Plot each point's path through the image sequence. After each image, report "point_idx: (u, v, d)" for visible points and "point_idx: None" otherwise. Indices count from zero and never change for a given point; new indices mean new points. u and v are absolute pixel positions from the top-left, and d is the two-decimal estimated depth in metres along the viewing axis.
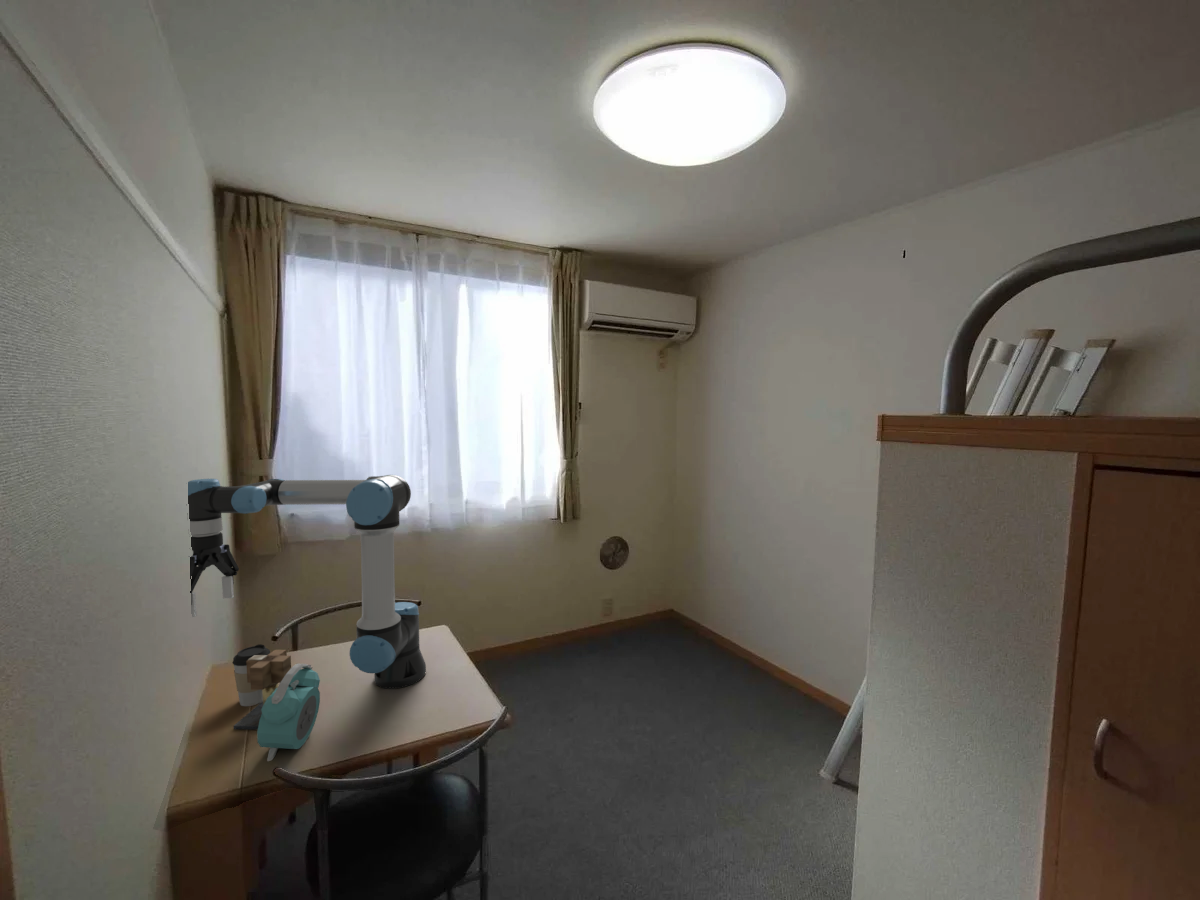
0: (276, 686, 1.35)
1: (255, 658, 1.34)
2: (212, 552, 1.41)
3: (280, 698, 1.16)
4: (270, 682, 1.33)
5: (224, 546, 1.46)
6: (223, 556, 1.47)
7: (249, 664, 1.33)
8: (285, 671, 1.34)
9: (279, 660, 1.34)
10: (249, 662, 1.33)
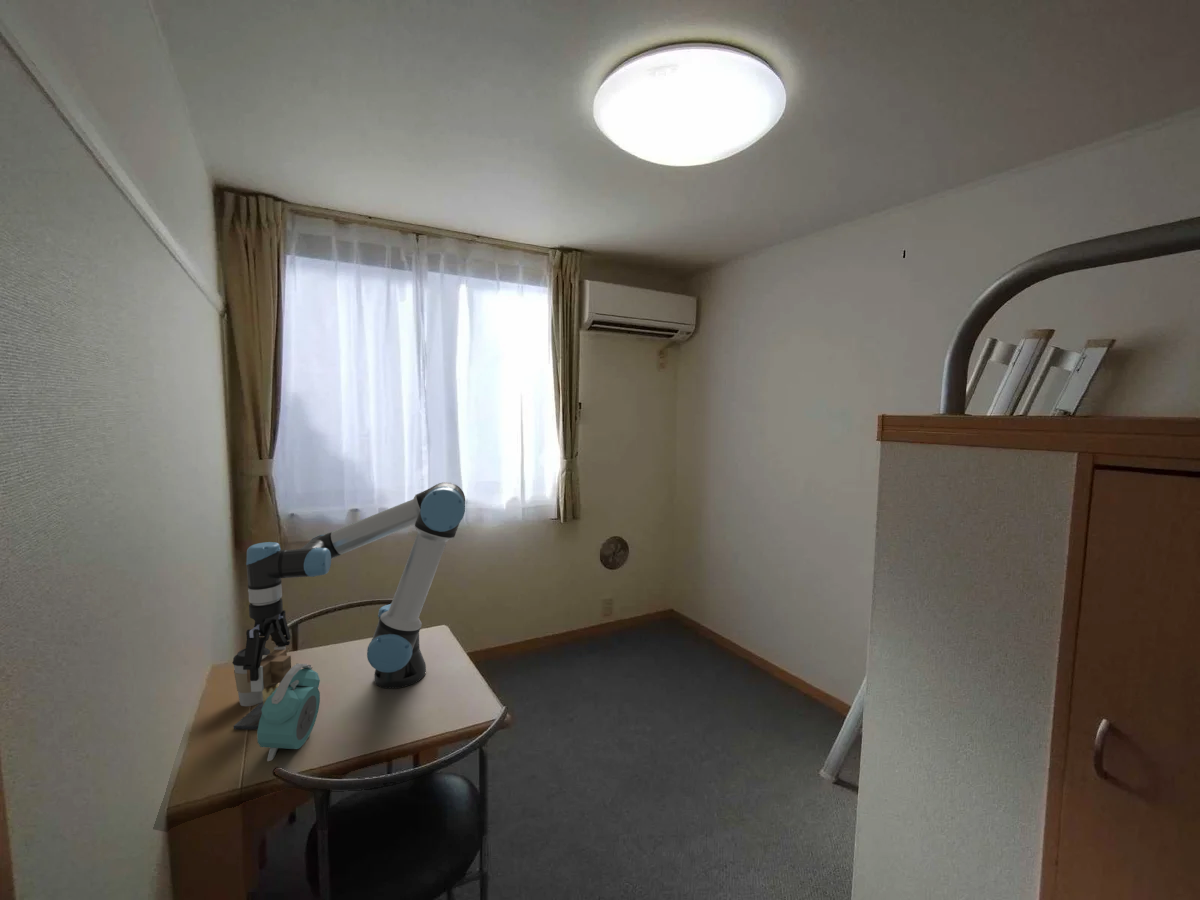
0: (276, 686, 1.35)
1: None
2: (272, 618, 1.35)
3: (280, 698, 1.16)
4: (270, 682, 1.33)
5: (281, 612, 1.40)
6: None
7: None
8: (285, 671, 1.34)
9: (279, 660, 1.34)
10: None
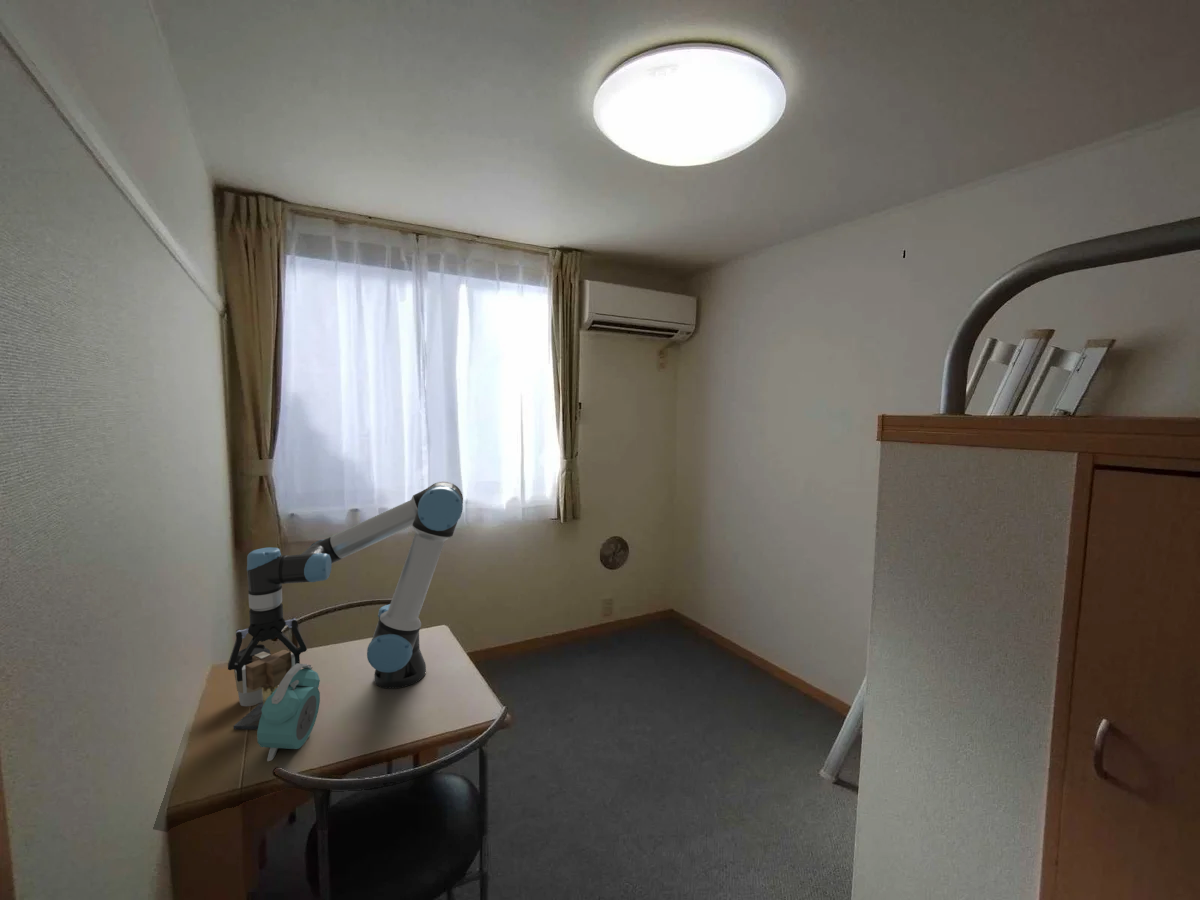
0: (276, 686, 1.35)
1: (260, 655, 1.36)
2: (270, 625, 1.34)
3: (280, 698, 1.16)
4: (265, 683, 1.33)
5: (292, 621, 1.37)
6: None
7: (254, 660, 1.36)
8: (276, 675, 1.32)
9: (271, 663, 1.32)
10: (253, 658, 1.35)
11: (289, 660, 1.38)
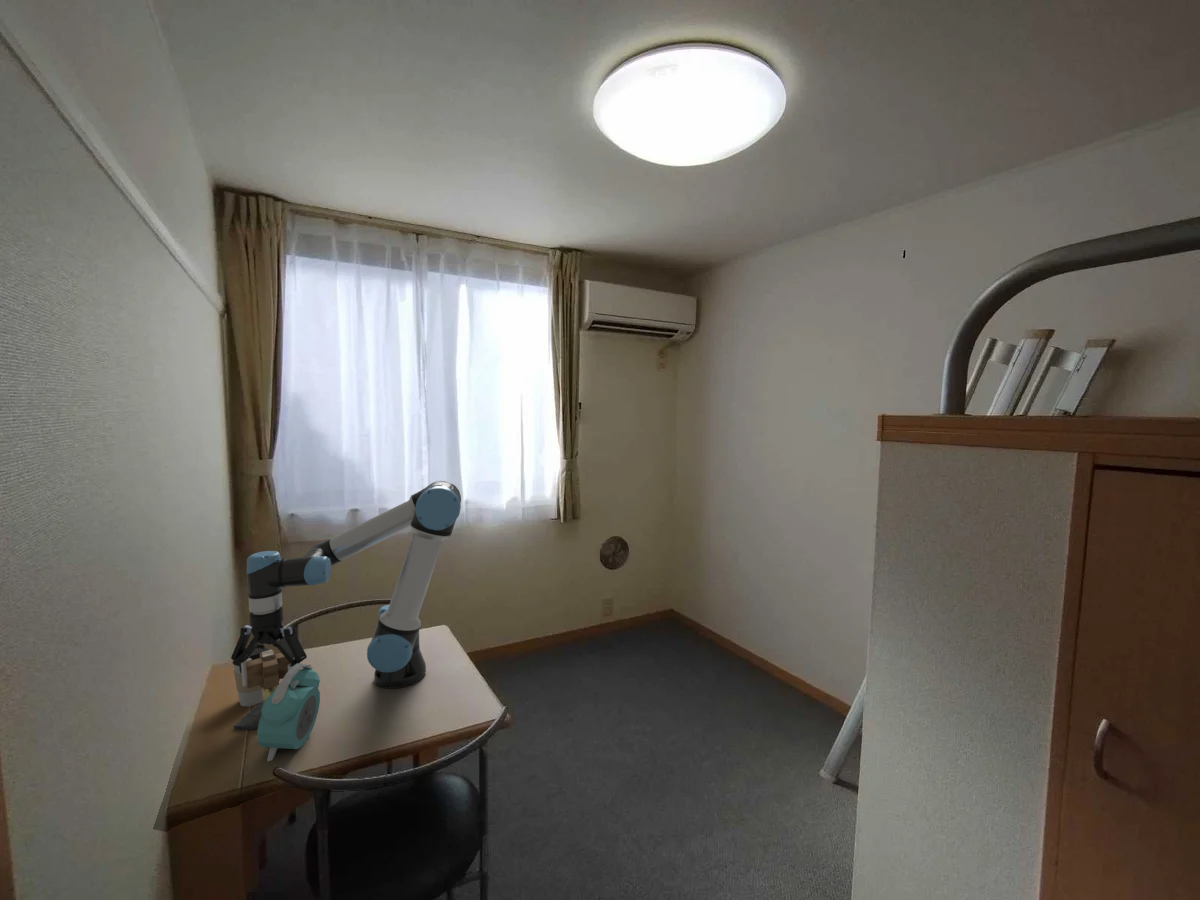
0: (276, 686, 1.35)
1: (265, 653, 1.37)
2: (266, 631, 1.33)
3: (280, 698, 1.16)
4: (261, 683, 1.33)
5: None
6: None
7: (260, 657, 1.37)
8: (267, 677, 1.31)
9: (265, 664, 1.31)
10: (260, 655, 1.37)
11: (289, 663, 1.37)
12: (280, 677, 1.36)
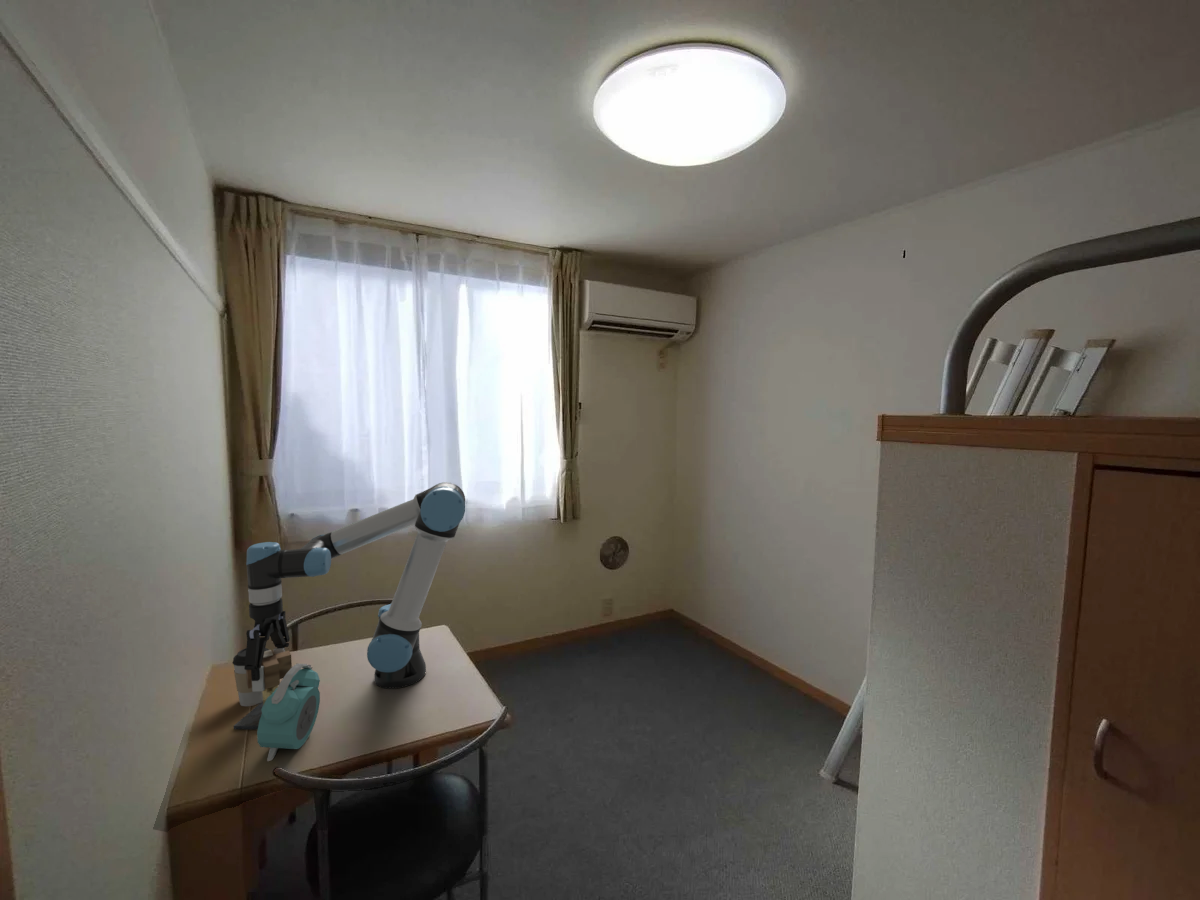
0: (276, 686, 1.35)
1: (264, 653, 1.37)
2: (272, 617, 1.35)
3: (280, 698, 1.16)
4: None
5: (281, 612, 1.40)
6: None
7: None
8: (268, 677, 1.31)
9: (265, 664, 1.31)
10: None
11: (289, 663, 1.37)
12: (280, 677, 1.36)
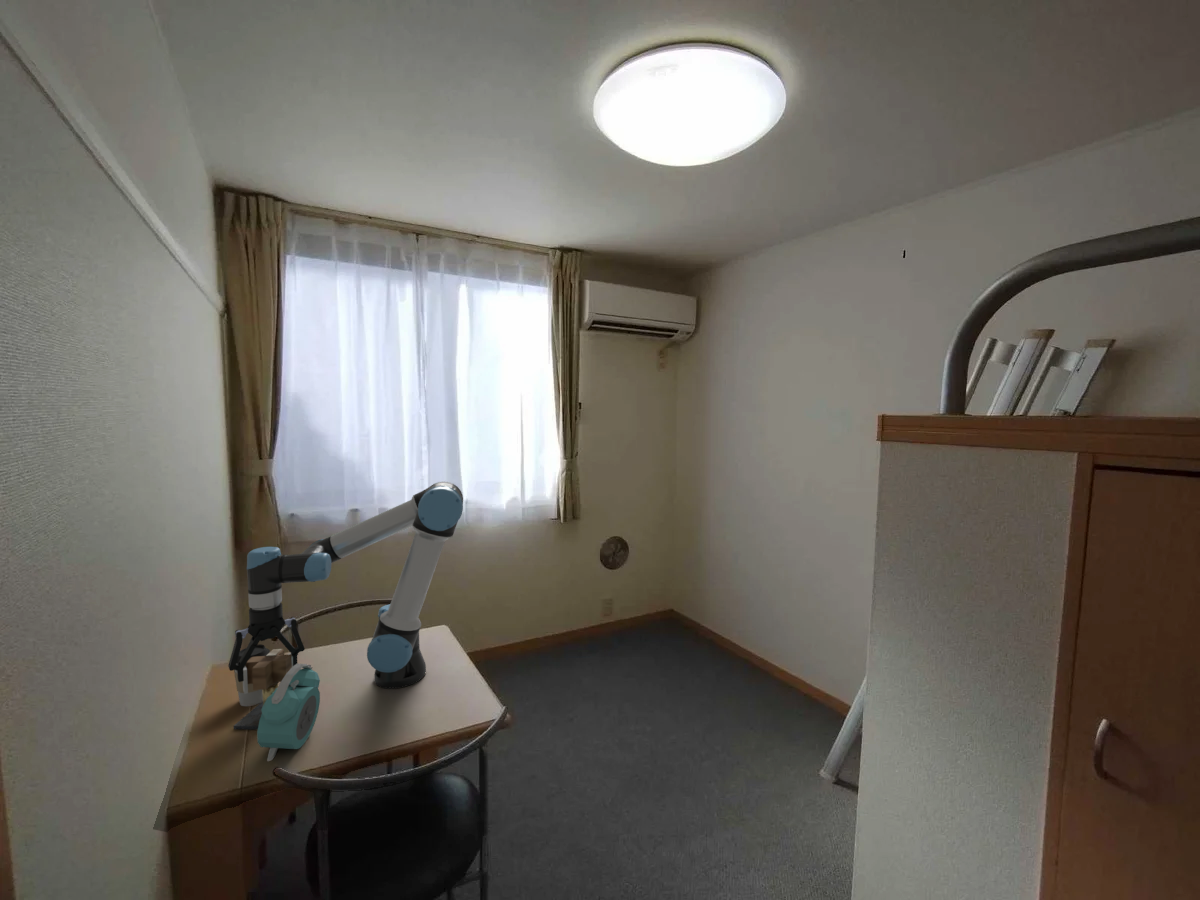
0: (276, 686, 1.35)
1: (272, 651, 1.38)
2: (270, 624, 1.34)
3: (280, 698, 1.16)
4: None
5: (291, 620, 1.38)
6: (291, 630, 1.39)
7: None
8: (255, 679, 1.30)
9: (256, 665, 1.31)
10: None
11: (284, 668, 1.34)
12: (275, 680, 1.34)
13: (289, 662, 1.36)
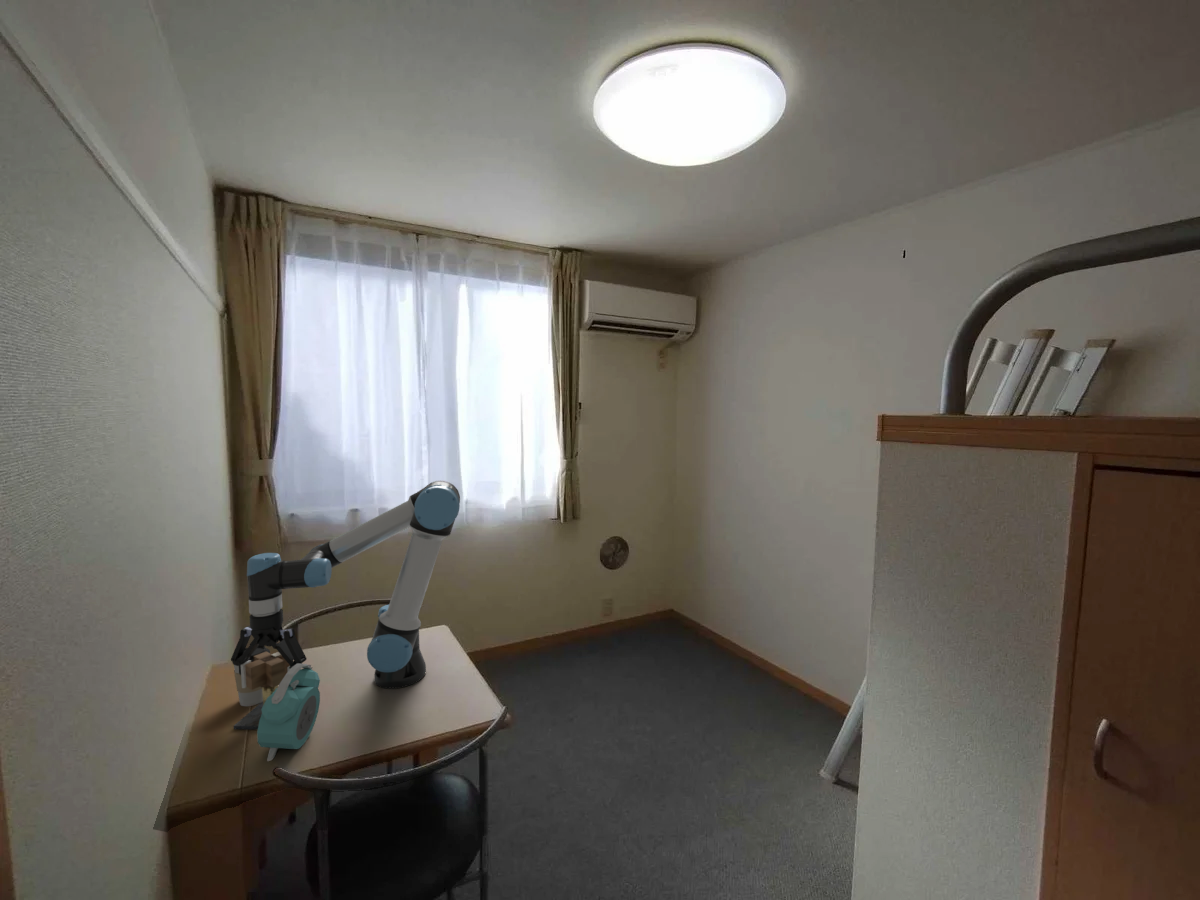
0: (276, 686, 1.35)
1: None
2: (266, 633, 1.33)
3: (280, 698, 1.16)
4: None
5: None
6: None
7: None
8: (247, 676, 1.31)
9: (251, 662, 1.32)
10: None
11: (270, 673, 1.31)
12: (267, 683, 1.33)
13: (279, 668, 1.33)
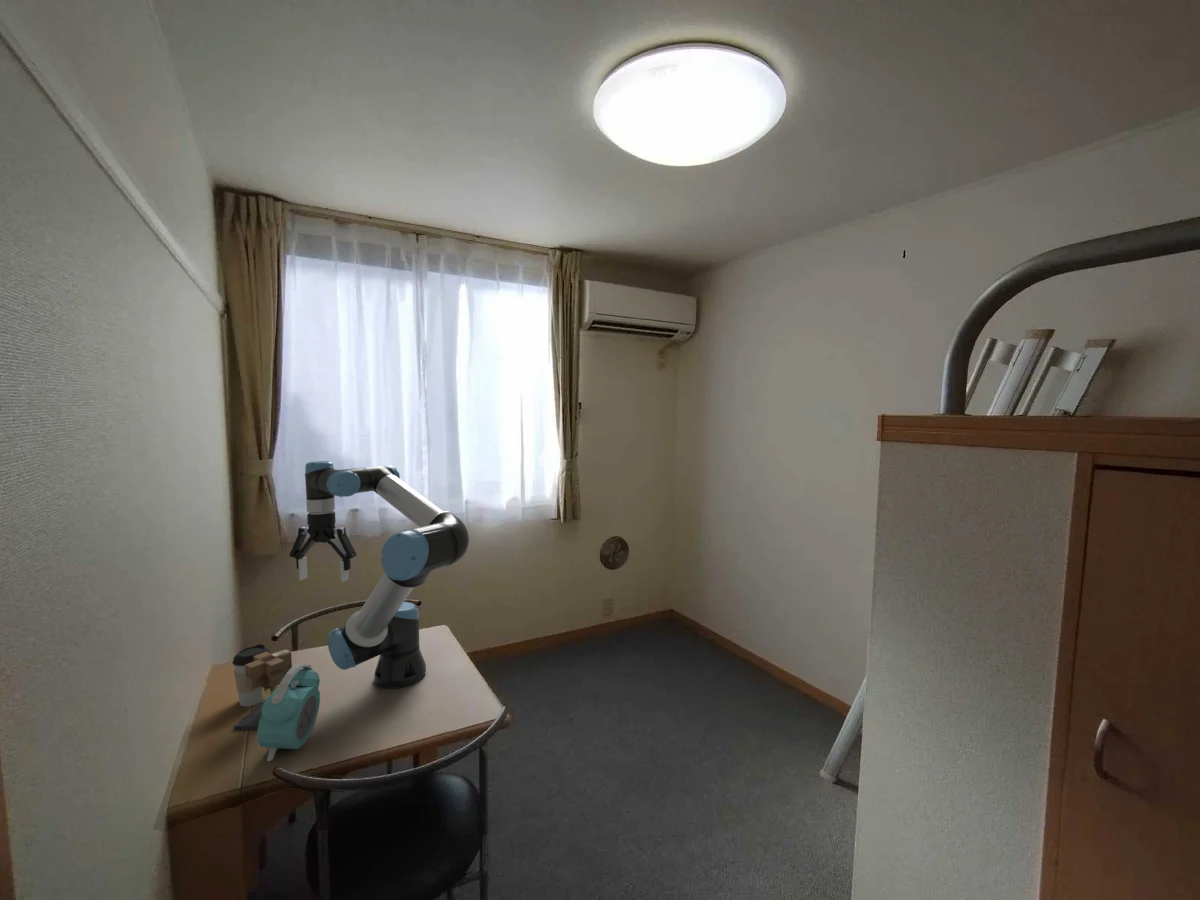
0: (276, 686, 1.35)
1: (280, 652, 1.38)
2: (321, 530, 1.50)
3: (280, 698, 1.16)
4: None
5: None
6: None
7: None
8: (247, 676, 1.31)
9: (251, 662, 1.32)
10: None
11: (270, 673, 1.31)
12: (267, 683, 1.33)
13: (279, 668, 1.33)
